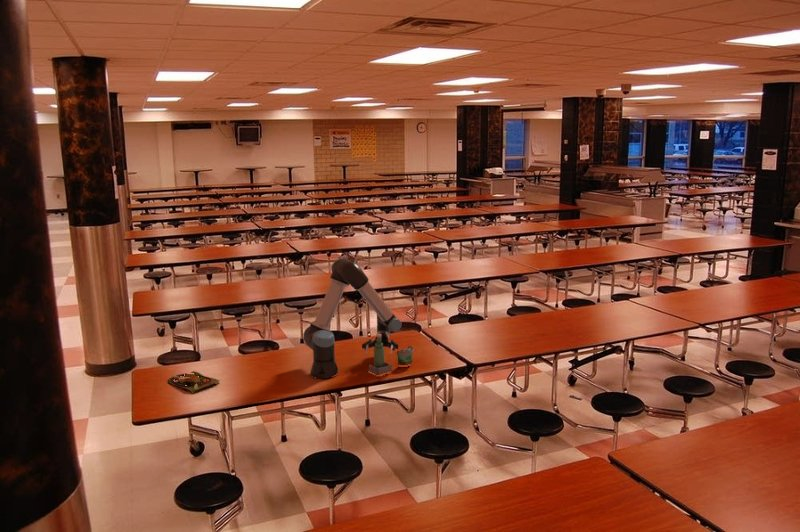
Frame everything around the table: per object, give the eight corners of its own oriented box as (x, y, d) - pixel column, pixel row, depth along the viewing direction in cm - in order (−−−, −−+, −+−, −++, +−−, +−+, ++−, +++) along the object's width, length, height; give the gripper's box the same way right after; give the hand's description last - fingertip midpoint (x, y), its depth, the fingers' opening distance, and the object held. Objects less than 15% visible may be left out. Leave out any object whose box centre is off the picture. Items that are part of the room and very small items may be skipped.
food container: (405, 370, 345) (405, 353, 343) (396, 367, 349) (396, 350, 347) (418, 363, 355) (418, 347, 353) (409, 361, 358) (409, 345, 356)
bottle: (372, 371, 342) (371, 334, 337) (380, 368, 345) (380, 332, 341) (378, 373, 337) (377, 336, 333) (386, 371, 340) (386, 334, 336)
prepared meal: (162, 376, 329) (193, 366, 343) (163, 382, 330) (193, 372, 343) (191, 391, 312) (222, 380, 325) (192, 397, 313) (222, 386, 326)
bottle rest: (366, 372, 342) (366, 363, 341) (381, 368, 348) (381, 360, 347) (377, 377, 334) (377, 369, 333) (392, 373, 340) (391, 365, 339)
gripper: (403, 345, 357) (401, 357, 336) (360, 344, 358) (356, 357, 338) (403, 332, 356) (401, 344, 335) (360, 332, 357) (356, 344, 336)
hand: (378, 351), depth 336 cm, fingers open, 13 cm apart
